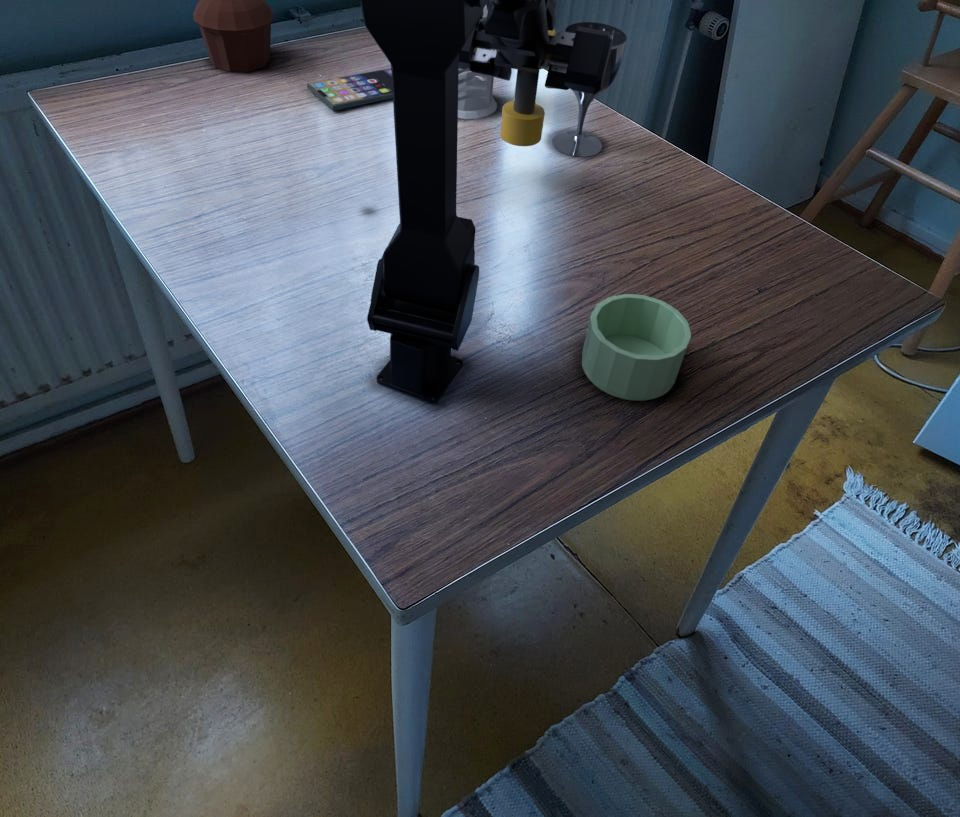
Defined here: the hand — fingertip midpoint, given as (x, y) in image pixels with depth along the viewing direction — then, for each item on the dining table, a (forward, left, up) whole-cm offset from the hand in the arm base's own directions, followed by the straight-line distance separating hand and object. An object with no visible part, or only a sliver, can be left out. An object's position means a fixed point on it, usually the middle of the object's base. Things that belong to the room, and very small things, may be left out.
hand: (529, 80), depth 95 cm
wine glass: (+12, -4, -13) cm, 18 cm away
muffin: (+9, +50, -13) cm, 53 cm away
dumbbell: (-1, 0, -7) cm, 7 cm away
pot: (-29, -24, -12) cm, 40 cm away
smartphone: (+10, +29, -13) cm, 33 cm away
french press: (+15, +14, -13) cm, 24 cm away
